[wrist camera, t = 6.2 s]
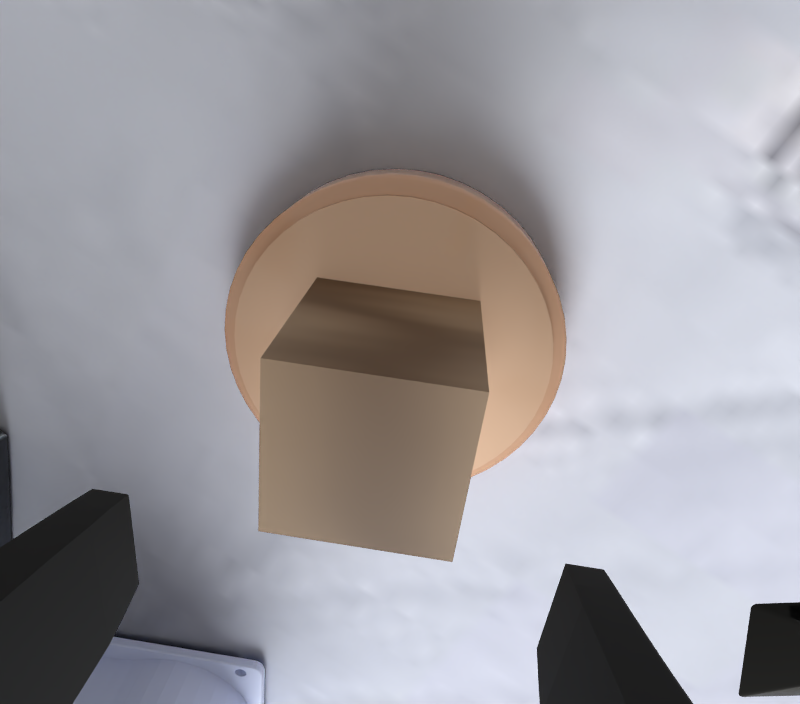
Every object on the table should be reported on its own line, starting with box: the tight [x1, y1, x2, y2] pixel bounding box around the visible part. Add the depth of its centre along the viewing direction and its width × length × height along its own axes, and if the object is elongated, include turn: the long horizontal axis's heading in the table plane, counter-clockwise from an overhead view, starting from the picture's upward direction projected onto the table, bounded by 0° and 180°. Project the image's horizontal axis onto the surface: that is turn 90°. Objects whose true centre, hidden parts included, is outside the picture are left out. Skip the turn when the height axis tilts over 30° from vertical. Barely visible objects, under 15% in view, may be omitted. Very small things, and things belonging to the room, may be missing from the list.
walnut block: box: [258, 277, 489, 562], centre depth 14 cm, size 4×4×5 cm
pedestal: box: [225, 169, 566, 477], centre depth 17 cm, size 10×10×2 cm
